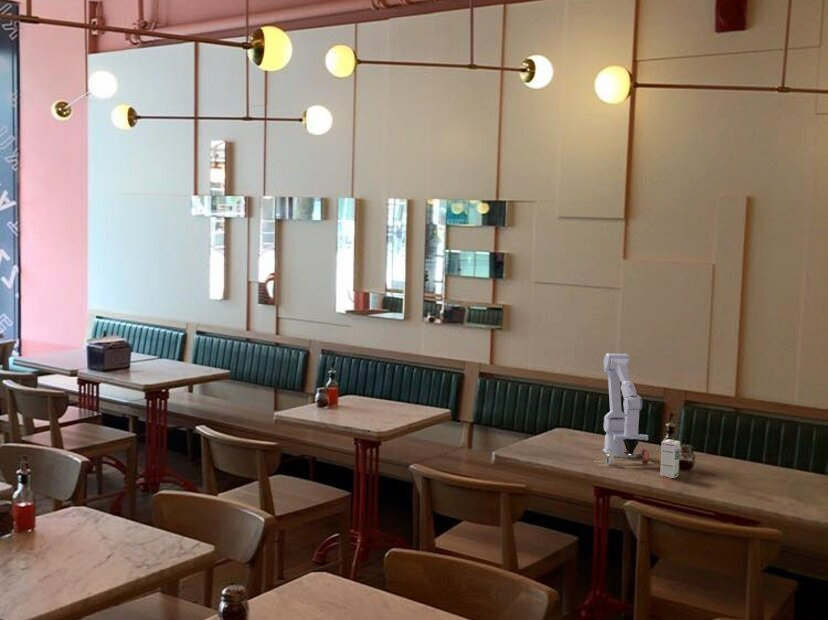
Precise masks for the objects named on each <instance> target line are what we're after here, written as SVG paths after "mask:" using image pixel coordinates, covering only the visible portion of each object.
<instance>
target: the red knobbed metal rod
mask: <svg viewBox="0 0 828 620" xmlns="http://www.w3.org/2000/svg"><path fill="white" fill-rule="evenodd" d="M606 458H609V455H606V454H605V459H606ZM614 459H627V460H629V459H630V460H641V463H643V464H645V463H648V461H650V454H649V450H648V449H647V448H641V449H640V452H639V453H633V454H628V455H627V454H626V455H614Z"/></svg>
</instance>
